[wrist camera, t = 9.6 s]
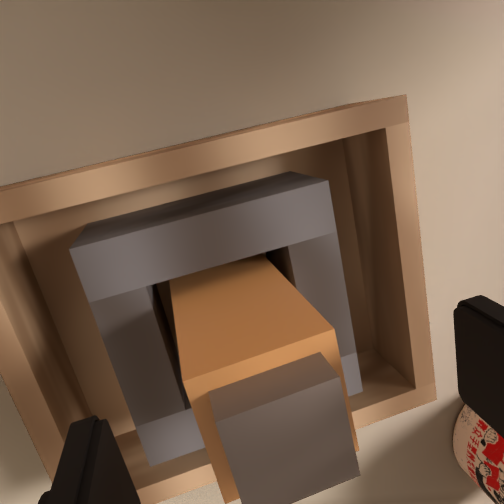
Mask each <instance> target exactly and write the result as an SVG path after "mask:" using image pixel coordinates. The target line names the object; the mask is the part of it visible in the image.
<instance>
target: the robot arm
mask: <svg viewBox="0 0 504 504" xmlns="http://www.w3.org/2000/svg"><path fill="white" fill-rule="evenodd" d="M453 315H454V331H455V346H456V362H457V378H458V391H459V394H460V396H461V398H462V400H463V401H464V403H465V404H466V405H467V406H468V407H470V408H471V409H472V410H473V411H474V412H475V413H476V414H477V415H478V416H479V417H480V418H482V419H483V420H484V421H485V422H486V423H487V424H488V425H489V426H490V427H491V428H492V429H494V430H495V431H496V432H497V433H498V434H499V435H500V436H501V437H502V438H503V439H504V306H502V305H500V304H498V303H496V302H494V301H492V300H490V299H489V298H487V297H485V296H482V295H479V296H475V297H472V298H469V299H466V300H462V301H460V302H459V303H458V305H457V308H456V309H455V310H454V314H453ZM38 504H141V502H140V499H139V496H138V494H137V491H136V489H135V486H134V484H133V481H132V479H131V476H130V474H129V471H128V469H127V466H126V464H125V462H124V459H123V457H122V454H121V452H120V449H119V447H118V444H117V442H116V439H115V437H114V434H113V432H112V430H111V427H110V425H109V422H108V420H107V419H102V420H100V419H99V418H98V417H97V416H96V415H94V416H91V417H88V418H85V419H82V420H78V421H75V422H72V423H71V425H70V427H69V430H68V433H67V437H66V440H65V443H64V447H63V450H62V454H61V457H60V460H59V464H58V467H57V470H56V474H55V477H54V480H53V484H52V487H51V490H50V491H47V492H45V493H44V494H43V495H42V496H41V498H40V500H39V502H38Z"/></svg>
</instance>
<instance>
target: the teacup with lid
mask: <svg viewBox="0 0 504 504" xmlns="http://www.w3.org/2000/svg"><path fill="white" fill-rule="evenodd" d="M453 449H454V453H455V456H456V459H457V461H458V463H459V465H460V466H461V468H462V469H463V470H464V471H465V472H466V473H467V474H468V475H469V476H470V478H471V479H472V480H473V481H474V482H475V483H476V484H477V485H478V486H479V487H480V488H481V489H482V490H483V491H484V492H485V493H486V495H487V496H488V497H489V498H490V499H491V500H492V501H493V502H494V503H495V504H504V439H503V438H502V437H501V436H500V435H499V434H498V433H497V432H496V431H495V430H494V429H492V428H491V427H490V426H489V425H488V424H487V423H486V422H485V421H484V420H483V419H482V418H480V417H479V416H478V415H477V414H476V413H475V412H474V411H473V410H472V409H471V408H470V407H468V406H467V405H466V404H465V405H464V407H463V409H462V410H461V412H460V414H459V416H458V419H457V421H456V425H455V429H454V434H453Z"/></svg>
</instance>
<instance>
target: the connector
mask: <svg viewBox="0 0 504 504" xmlns="http://www.w3.org/2000/svg"><path fill="white" fill-rule="evenodd" d="M169 283H170V291H171V298H172V306H173V313H174V321H175V328H176V336H177V343H178V351H179V358H180V366H181V373H182V381H183V384H184V387H185V390H186V393H187V396H188V399H189V401H190V404H191V407H192V410H193V413H194V416H195V419H196V422H197V424H198V427H199V430H200V433H201V436H202V439H203V442H204V445H205V447H206V450H207V453H208V456H209V459H210V462H211V465H212V468H213V470H214V473H215V476H216V479H217V482H218V485H219V488H220V491H221V493H222V496H223V499H224V502H225V504H226V503H229V502H231V501H234V500H236V499H239V498H240V499H241V502H242V504H292V503H294V502H296V501H299V500H301V499H304V498H306V497H309V496H311V495H314V494H316V493H318V492H321V491H323V490H326V489H328V488H331V487H333V486H335V485H338V484H340V483H343V482H345V481H348V480H350V479H353V478H355V477H357V476H360V471H359V467H358V462H357V457H356V451H359V446H358V442H357V437H356V432H355V427H354V422H353V417H352V412H351V407H350V402H349V398H348V393H347V388H346V383H345V378H344V373H343V368H342V363H341V358H340V354H339V349H338V344H337V339H336V334H335V329H334V328H333V327H332V326H331V325H330V324H329V323H328V322H327V320H326V319H325V318H324V317H323V316H322V315H321V314H320V313H319V312H318V311H317V310H316V309H315V308H314V307H313V306H312V305H311V304H310V303H309V302H308V301H307V300H306V299H305V298H304V297H303V296H302V294H301V293H300V292H299V291H298V290H297V289H296V288H295V287H294V286H293V285H292V284H291V283H290V282H289V281H288V280H287V279H286V278H285V277H284V276H283V275H282V274H281V273H280V272H279V271H278V270H277V268H276V267H275V266H274V265H273V264H272V263H271V262H270V261H269V260H268V259H267V258H266V257H265V256H264V255H263V254H262V253H260V254H257V255H253V256H250V257H246V258H243V259H239V260H236V261H233V262H229V263H226V264H222V265H219V266H215V267H212V268H208V269H205V270H201V271H198V272H194V273H191V274H187V275H184V276H180V277H177V278H173V279H170V280H169Z"/></svg>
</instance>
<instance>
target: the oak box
mask: <svg viewBox="0 0 504 504" xmlns="http://www.w3.org/2000/svg"><path fill="white" fill-rule="evenodd" d="M260 253H262V254H263V255H264V256H265V257H266V258H267V259H268V260H269V261H270V262H271V263H272V264H273V265H274V266H275V267H276V268H277V270H278V271H279V272H280V273H281V274H282V275H283V276H284V277H285V278H286V279H287V280H288V281H289V282H290V283H291V284H292V285H293V286H294V287H295V288H296V289H297V290H298V291H299V292H300V293H301V294H302V296H303V297H304V298H305V299H306V300H307V301H308V302H309V303H310V304H311V305H312V306H313V307H314V308H315V309H316V310H317V311H318V312H319V313H320V314H321V315H322V316H323V317H324V318H325V319H326V320H327V322H328V323H329V324H330V325H331V326H332V327H333V328H334V329H335V334H336V339H337V344H338V349H339V354H340V358H341V363H342V368H343V373H344V378H345V383H346V388H347V393H348V398H349V402H350V407H351V412H352V417H353V422H354V427H355V430H356V429H359V428H361V427H364V426H367V425H370V424H372V423H375V422H378V421H380V420H383V419H386V418H388V417H391V416H394V415H397V414H399V413H402V412H405V411H407V410H410V409H413V408H416V407H418V406H421V405H424V404H426V403H429V402H432V401H434V400H437V397H436V387H435V377H434V367H433V357H432V347H431V337H430V327H429V317H428V307H427V297H426V287H425V277H424V267H423V256H422V246H421V236H420V226H419V216H418V206H417V196H416V186H415V176H414V166H413V156H412V146H411V136H410V126H409V116H408V106H407V96H406V95H401V96H394V97H388V98H382V99H376V100H370V101H364V102H358V103H352V104H347V105H342V106H338V107H334V108H330V109H326V110H321V111H317V112H313V113H309V114H305V115H300V116H296V117H292V118H288V119H283V120H279V121H275V122H271V123H267V124H262V125H258V126H254V127H250V128H246V129H241V130H237V131H233V132H229V133H225V134H220V135H216V136H212V137H208V138H203V139H199V140H195V141H191V142H187V143H182V144H178V145H174V146H170V147H166V148H161V149H157V150H153V151H149V152H145V153H140V154H136V155H132V156H128V157H124V158H119V159H115V160H111V161H107V162H102V163H98V164H94V165H90V166H86V167H81V168H77V169H73V170H69V171H65V172H60V173H56V174H52V175H48V176H44V177H39V178H35V179H31V180H27V181H23V182H18V183H14V184H10V185H6V186H1V187H0V374H1V376H2V378H3V380H4V382H5V384H6V386H7V388H8V390H9V393H10V395H11V397H12V399H13V401H14V403H15V405H16V407H17V410H18V412H19V414H20V416H21V418H22V420H23V422H24V424H25V426H26V429H27V431H28V433H29V435H30V437H31V439H32V441H33V443H34V445H35V448H36V450H37V452H38V454H39V456H40V458H41V460H42V462H43V465H44V467H45V469H46V471H47V473H48V475H49V477H50V479H51V481H52V484H53V480H54V477H55V474H56V470H57V467H58V464H59V460H60V457H61V454H62V450H63V447H64V443H65V440H66V437H67V433H68V430H69V427H70V425H71V423H72V422H75V421H78V420H82V419H85V418H88V417H91V416H94V415H96V416H97V417H98V418H99V419H100V420H102V419H107V420H108V422H109V425H110V427H111V430H112V432H113V434H114V437H115V439H116V442H117V444H118V447H119V449H120V452H121V454H122V457H123V459H124V462H125V464H126V466H127V469H128V471H129V474H130V476H131V479H132V481H133V484H134V486H135V489H136V491H137V494H138V496H139V499H140V502H141V504H156V503H158V502H161V501H164V500H167V499H169V498H172V497H175V496H177V495H180V494H183V493H185V492H188V491H191V490H194V489H196V488H199V487H202V486H204V485H207V484H210V483H213V482H215V481H217V479H216V476H215V473H214V470H213V468H212V465H211V462H210V459H209V456H208V453H207V450H206V447H205V445H204V442H203V439H202V436H201V433H200V430H199V427H198V424H197V422H196V419H195V416H194V413H193V410H192V407H191V404H190V401H189V399H188V396H187V393H186V390H185V387H184V384H183V381H182V373H181V366H180V358H179V351H178V343H177V336H176V328H175V321H174V313H173V306H172V298H171V291H170V283H169V280H170V279H173V278H177V277H180V276H184V275H187V274H191V273H194V272H198V271H201V270H205V269H208V268H212V267H215V266H219V265H222V264H226V263H229V262H233V261H236V260H239V259H243V258H246V257H250V256H253V255H257V254H260Z"/></svg>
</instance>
